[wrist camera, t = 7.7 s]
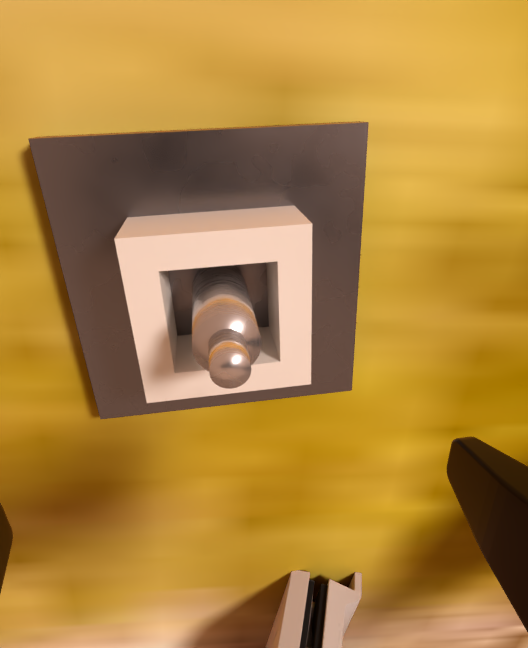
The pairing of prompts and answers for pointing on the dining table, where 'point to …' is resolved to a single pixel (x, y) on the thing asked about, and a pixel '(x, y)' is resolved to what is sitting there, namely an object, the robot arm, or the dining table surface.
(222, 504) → the dining table surface
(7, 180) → the dining table surface
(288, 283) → the collar
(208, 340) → the grey base with post
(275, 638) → the napkin holder
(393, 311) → the dining table surface
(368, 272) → the dining table surface
